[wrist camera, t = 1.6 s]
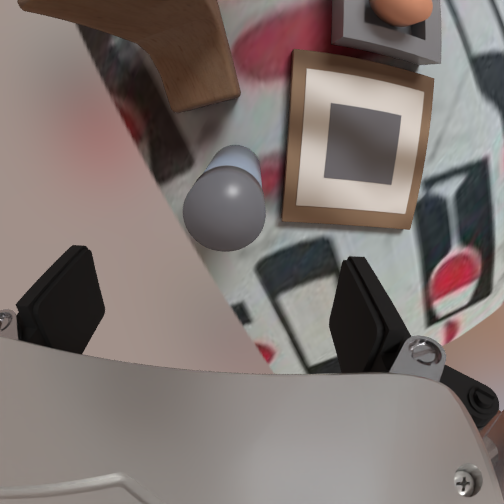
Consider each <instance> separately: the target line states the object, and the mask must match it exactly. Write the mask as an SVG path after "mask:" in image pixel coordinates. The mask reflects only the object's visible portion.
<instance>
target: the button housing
mask: <svg viewBox="0 0 504 504" xmlns="http://www.w3.org/2000/svg"><path fill="white" fill-rule="evenodd" d="M432 4H433V9H432V13H431V15H430V17H429V18H428V19H426V20H424V21H421V22H418V23H415V24H412V25H410V26H407V27H395V26H392V25H389V24H387V23H385V22H384V21H382V20H381V19H380V18H379V17H378V16H377V15H376V14H375V13H374V11H373V10H372V8H371V6H370V3H369V0H332V33H331V44H332V45H338V46H344V47H349V48H354V49H359V50H364V51H368V52H373V53H377V54H381V55H385V56H389V57H393V58H397V59H400V60H404V61H407V62H411V63H414V64H417V65H428V64H441V8H440V0H432Z"/></svg>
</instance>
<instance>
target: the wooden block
mask: <svg viewBox="0 0 504 504" xmlns="http://www.w3.org/2000/svg"><path fill="white" fill-rule="evenodd" d="M18 4H19V6H20V8H21V9H22V10H24V11H27V12H32V13H37V14H41V15H46V16H50V17H54V18H58V19H62V20H66V21H70V22H73V23H77V24H80V25H84V26H87V27H90V28H93V29H97V30H100V31H103V32H106V33H109V34H112V35H115V36H118V37H120V38H123V39H126V40H129V41H131V42H134V43H137V44H138V45H139V46H140V47H142V48H143V49H144V50H145V51H146V52H147V53H148V54H149V55H150V57H151V59H152V60H153V62H154V64H155V66H156V68H157V69H158V71H159V73H160V75H161V78H162V81H163V84H164V88H165V91H166V94H167V97H168V100H169V103H170V106H171V109H172V110H173V111H174V112H176V113H180V112H185V111H189V110H193V109H196V108H200V107H204V106H207V105H211V104H215V103H219V102H223V101H227V100H231V99H235V98H238V97H239V96H240V93H241V91H240V87H239V83H238V79H237V75H236V71H235V67H234V63H233V60H232V56H231V52H230V48H229V44H228V40H227V36H226V32H225V29H224V25H223V21H222V17H221V14H220V10H219V6H218V3H217V0H18Z"/></svg>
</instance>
